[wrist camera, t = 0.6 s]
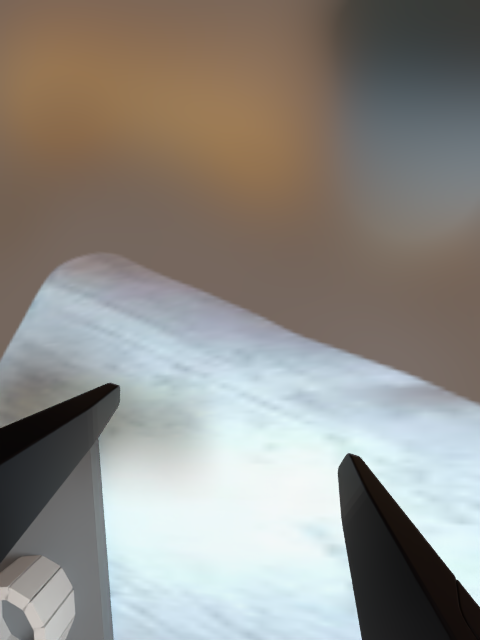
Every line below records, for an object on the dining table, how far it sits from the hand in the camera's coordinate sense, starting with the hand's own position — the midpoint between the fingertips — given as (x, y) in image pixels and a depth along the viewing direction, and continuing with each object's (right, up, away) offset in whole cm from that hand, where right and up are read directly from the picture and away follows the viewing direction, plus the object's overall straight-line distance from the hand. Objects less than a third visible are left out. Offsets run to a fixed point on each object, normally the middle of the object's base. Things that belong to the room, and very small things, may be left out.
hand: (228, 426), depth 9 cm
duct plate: (-20, -19, +15) cm, 31 cm away
